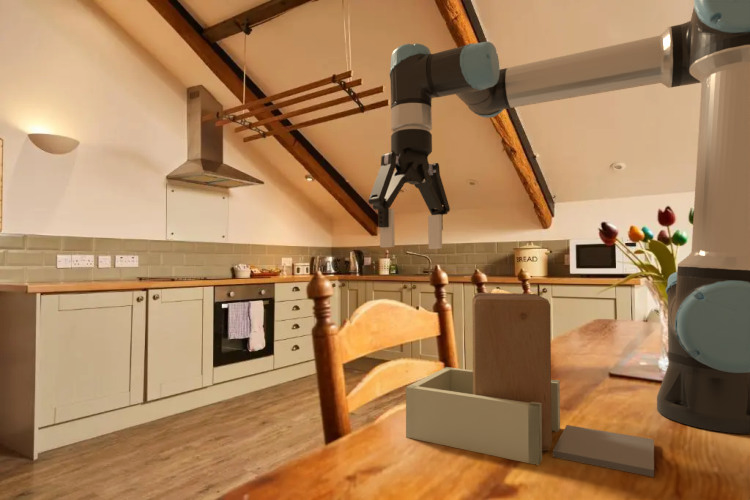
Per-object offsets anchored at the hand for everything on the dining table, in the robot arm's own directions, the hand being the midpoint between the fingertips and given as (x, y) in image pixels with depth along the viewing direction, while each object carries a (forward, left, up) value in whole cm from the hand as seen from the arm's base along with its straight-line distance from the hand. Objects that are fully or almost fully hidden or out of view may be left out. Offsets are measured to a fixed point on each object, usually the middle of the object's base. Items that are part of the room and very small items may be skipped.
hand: (412, 248), depth 86 cm
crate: (-17, +10, -27) cm, 33 cm away
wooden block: (-20, +10, -28) cm, 35 cm away
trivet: (-32, +9, -27) cm, 43 cm away
